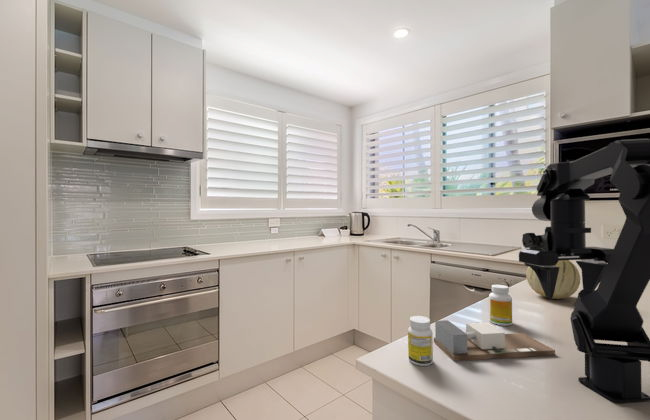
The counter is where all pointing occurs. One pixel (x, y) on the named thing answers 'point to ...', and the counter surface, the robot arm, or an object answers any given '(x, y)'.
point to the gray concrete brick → (451, 337)
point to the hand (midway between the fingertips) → (568, 297)
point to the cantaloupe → (558, 280)
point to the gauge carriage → (485, 336)
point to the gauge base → (503, 349)
